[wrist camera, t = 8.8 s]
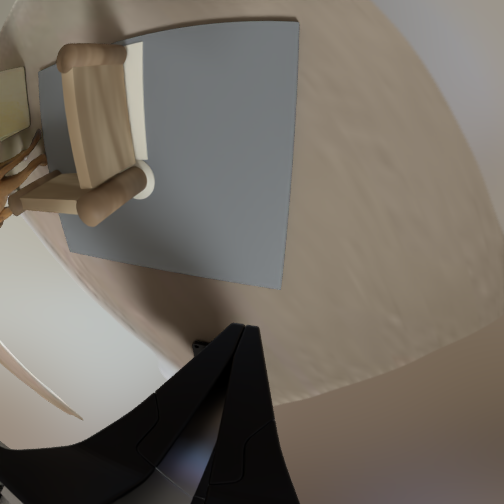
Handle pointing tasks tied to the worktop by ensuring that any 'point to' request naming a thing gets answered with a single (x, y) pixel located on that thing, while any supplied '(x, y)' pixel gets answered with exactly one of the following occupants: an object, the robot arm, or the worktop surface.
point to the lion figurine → (17, 175)
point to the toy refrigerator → (13, 102)
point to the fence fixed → (78, 195)
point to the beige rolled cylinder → (96, 110)
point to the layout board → (197, 152)
